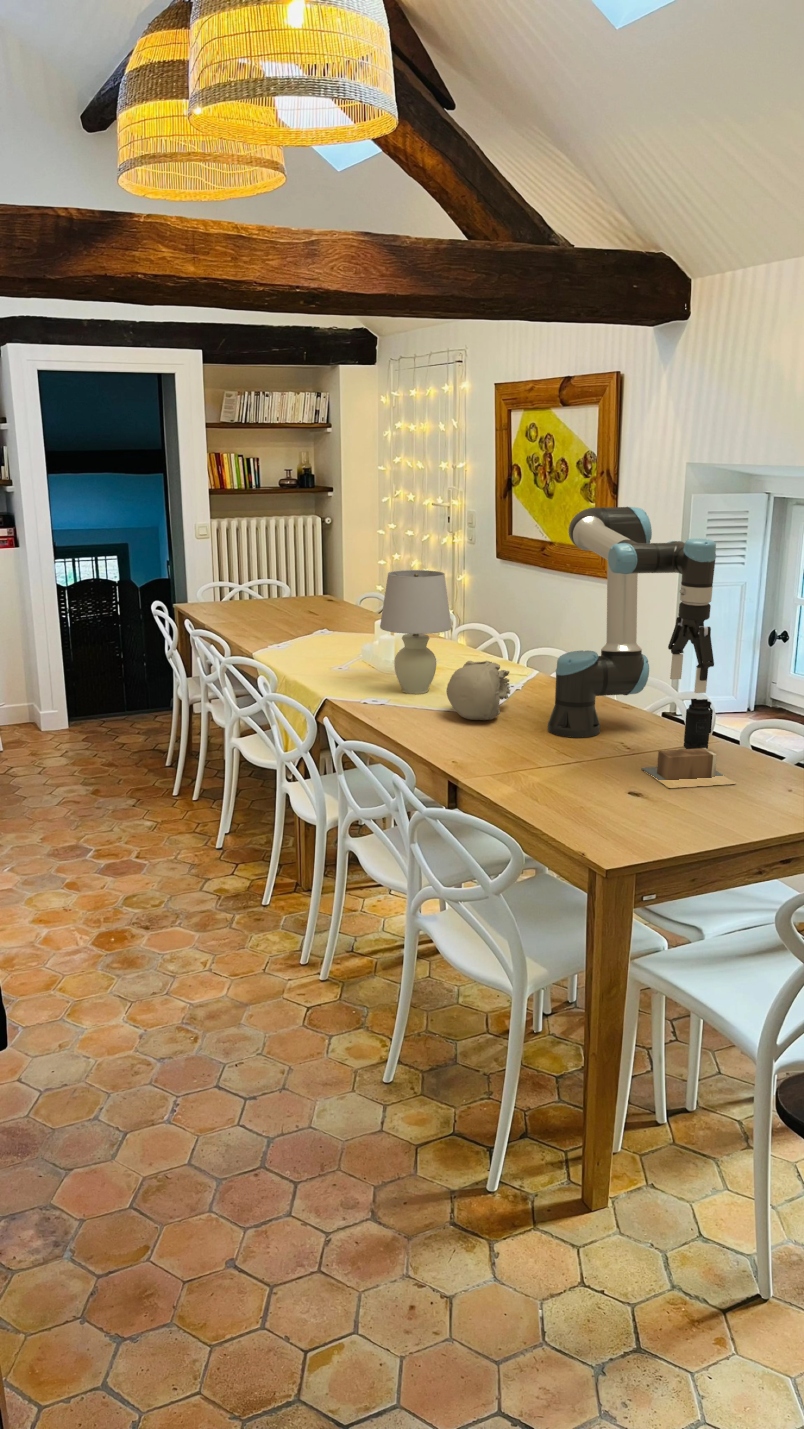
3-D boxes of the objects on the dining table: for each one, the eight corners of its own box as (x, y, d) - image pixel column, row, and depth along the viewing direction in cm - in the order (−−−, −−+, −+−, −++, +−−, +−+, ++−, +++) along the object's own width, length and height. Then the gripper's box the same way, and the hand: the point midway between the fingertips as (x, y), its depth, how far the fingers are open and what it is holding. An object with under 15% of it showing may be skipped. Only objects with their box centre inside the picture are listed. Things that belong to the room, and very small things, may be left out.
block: (658, 750, 271) (705, 748, 273) (656, 773, 272) (703, 770, 275) (668, 757, 265) (716, 754, 268) (667, 780, 267) (715, 777, 269)
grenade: (690, 755, 290) (695, 702, 286) (678, 749, 296) (682, 696, 292) (714, 753, 292) (718, 700, 288) (701, 747, 298) (705, 695, 294)
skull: (511, 640, 330) (447, 639, 332) (511, 684, 310) (444, 684, 312) (510, 694, 342) (449, 693, 344) (510, 741, 322) (445, 740, 324)
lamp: (371, 685, 369) (371, 570, 359) (436, 681, 376) (438, 568, 366) (391, 701, 347) (392, 579, 337) (460, 696, 354) (463, 576, 344)
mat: (641, 769, 277) (641, 767, 277) (705, 766, 281) (705, 763, 280) (668, 789, 262) (668, 786, 262) (735, 784, 265) (735, 782, 265)
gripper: (659, 594, 274) (652, 674, 280) (704, 612, 251) (696, 699, 257) (686, 593, 275) (679, 673, 281) (734, 611, 252) (725, 698, 258)
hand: (687, 685), depth 269 cm, fingers open, 13 cm apart
